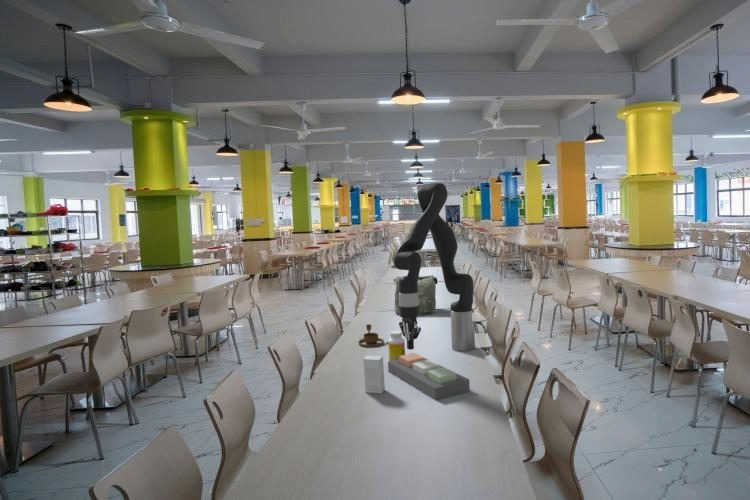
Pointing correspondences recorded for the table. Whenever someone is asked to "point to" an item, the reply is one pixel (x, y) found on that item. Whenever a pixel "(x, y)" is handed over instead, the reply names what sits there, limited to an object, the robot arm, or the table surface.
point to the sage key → (441, 375)
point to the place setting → (371, 339)
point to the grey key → (424, 367)
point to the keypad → (428, 381)
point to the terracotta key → (410, 359)
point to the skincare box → (374, 374)
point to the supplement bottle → (396, 345)
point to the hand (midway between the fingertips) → (410, 348)
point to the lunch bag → (421, 294)
